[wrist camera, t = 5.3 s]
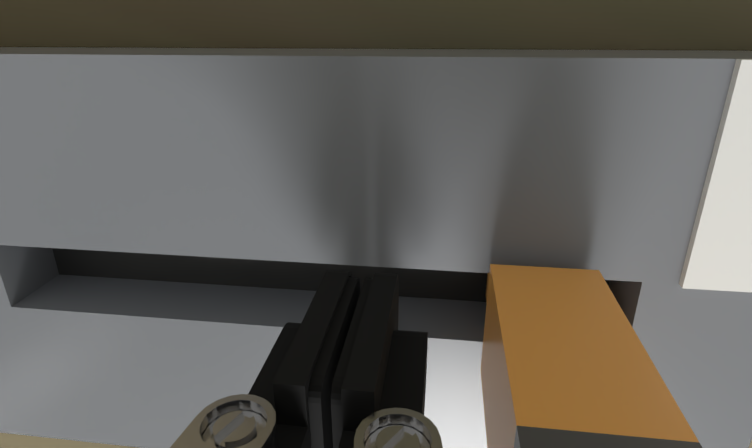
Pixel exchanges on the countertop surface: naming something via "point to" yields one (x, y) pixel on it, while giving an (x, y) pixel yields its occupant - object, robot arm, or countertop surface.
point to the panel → (357, 217)
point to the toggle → (569, 367)
